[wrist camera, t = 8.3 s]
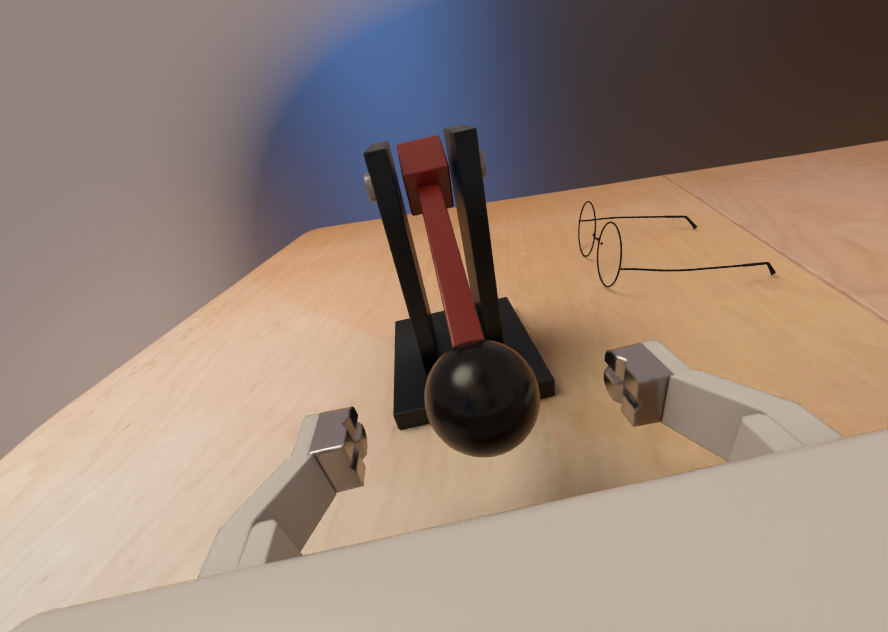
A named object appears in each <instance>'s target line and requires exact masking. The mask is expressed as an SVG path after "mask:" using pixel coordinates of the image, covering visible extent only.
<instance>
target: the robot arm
mask: <svg viewBox="0 0 888 632" xmlns="http://www.w3.org/2000/svg"><path fill="white" fill-rule="evenodd" d="M605 362H606V363H607V364H608V365H609V366H608V367H607V368H606V370H605V371H604V382H605V386H606V389H607V391H608V393H609V395H610V396H611V398H612V399H613V400H614V401H616V402H618V403H620V404H622V406H621V411H622V413H623V414H624V415H625V417H626V418H627V419H628V421H629V422H630V423H631V425H632V426H633V427H636V426H641V425H646V424H652V423H657V422H662V424H664V425H666V426H668V427H669V428H671V429H673V430H674V431H676V432H678V433H680V434H681V435H683V436H685V437H687V438H688V439H690V440H692V441H693V442H695V443H697V444H699V445H700V446H702V447H704V448H706V449H707V450H709V451H711V452H712V453H714V454H716V455H718V456H719V457H721V458H723V459H724V460H726V461H727V463H725V464H721V465H716V466H711V467H707V468H702V469H698V470H693V471H688V472H684V473H679V474H675V475H670V476H665V477H661V478H656V479H652V480H647V481H643V482H638V483H633V484H629V485H624V486H620V487H615V488H611V489H606V490H602V491H597V492H592V493H588V494H583V495H579V496H574V497H570V498H565V499H560V500H556V501H551V502H547V503H542V504H537V505H533V506H528V507H524V508H519V509H514V510H510V511H505V512H501V513H496V514H491V515H487V516H482V517H478V518H473V519H468V520H464V521H459V522H455V523H450V524H445V525H441V526H436V527H432V528H427V529H422V530H418V531H413V532H409V533H404V534H399V535H395V536H390V537H386V538H381V539H377V540H372V541H367V542H363V543H358V544H354V545H349V546H344V547H340V548H335V549H331V550H326V551H321V552H317V553H312V554H308V555H302V554H301V553H300V552H301V550H302V549H303V547H304V545H305V544H306V542H307V541H308V539H309V537H310V536H311V534H312V533H313V531H314V529H315V528H316V526H317V525H318V523H319V521H320V520H321V518H322V517H323V515H324V514H325V512H326V510H327V509H328V507H329V506H330V504H331V502H332V501H333V499H334V498H335V496H336V493H337V492H341V491H345V490H349V489H354V488H358V487H362V486H364V476H365V465H364V462H363V459H364V457H365V456H366V455H367V437H366V433H365V430H364V427H363V425H362V424H360V423H358V422H357V419H358V414H357V412H356V410H355V408H354V407H348V408H343V409H337V410H332V411H327V412H322V413H319V414H314V415H308V416H306V417H305V418H304V419H303V421H302V424H301V427H300V430H299V433H298V436H297V440H296V443H295V446H294V449H293V452H292V455H291V458H290V459H289V460H285V461H284V462H283V463H282V464H281V465H280V466H279V468H278V469H277V470H276V471H275V472H274V473H273V474H272V475H271V476H270V477H269V478H268V479H267V480H266V481H265V482H264V483H263V484H262V485H261V486H260V487H259V488H258V489H257V490H256V491H255V492H254V494H253V495H252V496H251V497H250V498H249V499H248V500H247V501H246V502H245V503H244V504H243V505H242V506H241V507H240V508H239V509H238V510H237V511H236V512H235V513H234V514H233V515H232V516H231V517H230V518H229V520H228V521H227V522H226V523H225V524H224V525H223V526H222V527H221V528H220V529H219V530H218V533H217V535H216V537H215V539H214V542H213V544H212V546H211V549H210V551H209V553H208V555H207V558H206V560H205V562H204V564H203V567H202V569H201V571H200V574H199V576H198V578H197V579H193V580H188V581H184V582H179V583H175V584H170V585H166V586H161V587H156V588H152V589H147V590H143V591H138V592H134V593H129V594H125V595H120V596H115V597H111V598H106V599H102V600H97V601H93V602H88V603H83V604H78V605H73V606H68V607H63V608H58V609H53V610H50V611H46V612H42V613H39V614H36V615H34V616H32V617H30V618H28V619H26V620H25V621H23V622H21V623H20V624H19V625H17V626H16V627H15V628H13V629H12V630H11V631H9V632H888V428H886V429H881V430H877V431H872V432H868V433H863V434H858V435H854V436H849V437H844V436H842V435H841V434H840V433H838V432H837V431H835V430H834V429H833V428H831V427H830V426H829V425H827V424H826V423H825V422H823V421H822V420H820V419H819V418H818V417H816V416H815V415H814V414H812V413H811V412H810V411H808V410H807V409H805V408H804V407H803V406H801V405H800V404H799V403H796V402H793V401H790V400H787V399H784V398H781V397H778V396H775V395H772V394H769V393H766V392H763V391H760V390H757V389H754V388H751V387H748V386H745V385H742V384H739V383H736V382H733V381H730V380H727V379H724V378H721V377H718V376H715V375H712V374H709V373H706V372H703V371H700V370H695V371H693V370H692V369H691V368H689V367H688V366H687V365H686V364H685V363H684V362H683V361H681V360H680V359H679V358H678V357H677V356H676V355H675V354H673V353H672V352H671V351H670V350H669V349H668V348H666V347H665V346H664V345H663V344H662V343H661V342H660V341H658V340H655V339H653V340H649V341H645V342H641V343H638V344H633V345H629V346H625V347H620V348H616V349H611V350H607V352H606V354H605Z"/></svg>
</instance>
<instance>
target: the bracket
mask: <svg viewBox="0 0 888 632" xmlns="http://www.w3.org/2000/svg"><path fill="white" fill-rule="evenodd" d="M443 131H444V137H445V143H446V149H447V154H448V160H449V166H450V172H451V178H452V184H453V189H454V196H455V202H456V207H457V213H458V219H459V225H460V231H461V237H462V243H463V248H464V254H465V260H466V266H467V272H468V278H469V284H470V290H471V294H472V298H473V301H474V305H475V308H476V312H477V315H478V319H479V322H480V326H481V329H482V333H483V336H484V340H492V341H496V342H499V343H502V344H504V345H506V346H508V347H510V348H512V349H513V350H515V351H516V352H517V353H519V354H520V355H521V356H522V357H523V358H524V359H525V361H526V362H527V363H528V364H529V366H530V367H531V369H532V371H533V372H534V375H535V377H536V380H537V383H538V387H539V393H540V398H544V397H549V396H553V395H555V384H554V378H553V376H552V375H551V373H550V371H549V370H548V368H547V366H546V364H545V363H544V361H543V359H542V357H541V356H540V354H539V352H538V350H537V349H536V347H535V345H534V344H533V342H532V340H531V338H530V337H529V335H528V333H527V331H526V330H525V328H524V326H523V324H522V323H521V321H520V319H519V318H518V316H517V314H516V312H515V311H514V309H513V307H512V305H511V304H510V302H509V300H508V298H507V297H504V298H499V299H498V295H497V287H496V279H495V271H494V263H493V256H492V248H491V240H490V232H489V224H488V216H487V208H486V201H485V193H484V185H483V178H484V177H485V176H486V164H485V158H484V154H483V151H482V149H479V145H478V137H477V130H476V128H474V127H469V126H464V125H457V126H452V127H448V128H444V129H443ZM364 158H365V161H366V165H367V168H368V172H369V173H367V174H364V181H365V186H366V190H367V193H368V196H369V199H370V201H371V202H377V204H378V207H379V211H380V214H381V218H382V221H383V225H384V229H385V232H386V236H387V239H388V243H389V246H390V250H391V253H392V257H393V260H394V264H395V267H396V271H397V274H398V278H399V281H400V285H401V288H402V292H403V295H404V299H405V303H406V306H407V310H408V313H409V317H410V318H409V319H405V320H400V321H396V322H395V365H394V410H393V415H394V418H395V421H396V423H397V426H398V429H404V428H408V427H413V426H417V425H422V424H426V423H430V422H429V419H428V416H427V413H426V409H425V401H424V394H425V385H426V381H427V378H428V375H429V373H430V371H431V369H432V367H433V365H434V364H435V362H436V361H437V360H438V359H439V358H440V356H442V355H443V354H444V353H445V352H446V351H448V350H449V349H450V348H452V343H451V339H450V334H449V330H448V325H447V321H446V316H445V312H444V311H441V312H436V313H432V314H431V312H430V308H429V304H428V300H427V296H426V292H425V288H424V284H423V280H422V276H421V272H420V267H419V263H418V259H417V255H416V251H415V247H414V243H413V239H412V235H411V231H410V227H409V223H408V219H407V215H406V211H405V206H404V203H403V198H402V194H401V190H400V186H399V182H398V178H397V174H396V170H395V166H394V162H393V158H392V154H391V149H390V145H389V142H388V141H385V142H381V143H377V144H372V145H371V146H370V147H369V148H368V149H367V150H366V151H365V152H364Z"/></svg>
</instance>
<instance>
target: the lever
mask: <svg viewBox="0 0 888 632" xmlns="http://www.w3.org/2000/svg"><path fill="white" fill-rule="evenodd" d="M397 151H398V156H399V161H400V167H401V172H402V177H403V181H404V185H405V189H406V193H407V197H408V200H409V205H410V209H411V213H412V215H413V216H415V215H420V214H423V217H424V222H425V226H426V231H427V235H428V240H429V244H430V249H431V253H432V258H433V262H434V267H435V271H436V276H437V280H438V285H439V289H440V294H441V298H442V303H443V307H444V312H445V316H446V321H447V325H448V330H449V334H450V339H451V343H452V348H450V349H449V350H448V351H446V352H445V353H444V354H443V355H442V356H440V358H439V359H438V360H437V361H436V362H435V364H434V365H433V367H432V369H431V371H430V373H429V375H428V378H427V381H426V385H425V394H424V401H425V409H426V413H427V416H428V419H429V422H430V424H431V426H432V427H433V429H434V431H435V432H436V433H437V435H438V436H439V437H440V438H441V439H442V440H443V441H444V442H445V443H446V444H447V445H448V446H450V447H451V448H453V449H454V450H456V451H458V452H460V453H463V454H465V455H469V456H474V457H493V456H498V455H501V454H504V453H506V452H509V451H511V450H512V449H514V448H515V447H517V446H518V445H519V444H520V443H522V442H523V441H524V440H525V438H526V437H527V436H528V435H529V433H530V432H531V430H532V429H533V427H534V425H535V422H536V420H537V417H538V413H539V407H540V393H539V387H538V383H537V380H536V377H535V375H534V372H533V371H532V369H531V367H530V366H529V364H528V363H527V362H526V361H525V359H524V358H523V357H522V356H521V355H520V354H519V353H517V352H516V351H515V350H513V349H512V348H510V347H508V346H506V345H504V344H502V343H499V342H496V341H492V340H484V336H483V333H482V329H481V326H480V322H479V319H478V315H477V312H476V308H475V305H474V301H473V298H472V294H471V291H470V287H469V284H468V280H467V277H466V273H465V270H464V266H463V263H462V260H461V256H460V253H459V249H458V246H457V242H456V239H455V235H454V232H453V228H452V225H451V221H450V218H449V214H448V211H447V208H451V207H453V206H454V204H453V196H452V188H451V180H450V172H449V165H448V162H447V159H446V156H445V153H444V150H443V147H442V144H441V141H440V138H439V136H438V135H436V136H431V137H427V138H422V139H418V140H414V141H409V142H404V143H400V144H397Z"/></svg>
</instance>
